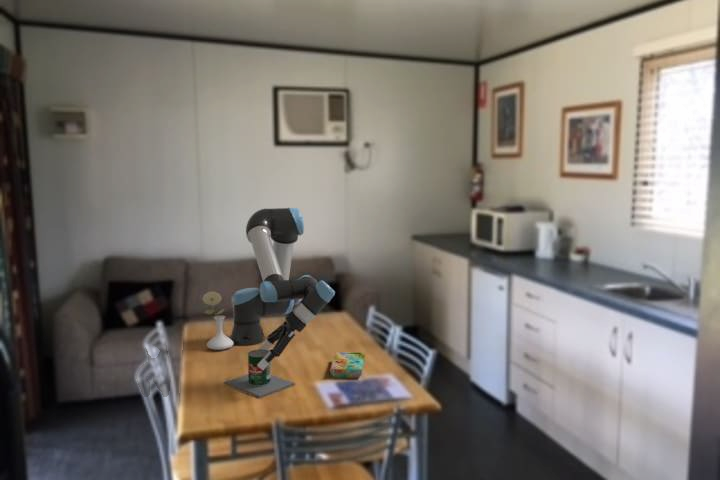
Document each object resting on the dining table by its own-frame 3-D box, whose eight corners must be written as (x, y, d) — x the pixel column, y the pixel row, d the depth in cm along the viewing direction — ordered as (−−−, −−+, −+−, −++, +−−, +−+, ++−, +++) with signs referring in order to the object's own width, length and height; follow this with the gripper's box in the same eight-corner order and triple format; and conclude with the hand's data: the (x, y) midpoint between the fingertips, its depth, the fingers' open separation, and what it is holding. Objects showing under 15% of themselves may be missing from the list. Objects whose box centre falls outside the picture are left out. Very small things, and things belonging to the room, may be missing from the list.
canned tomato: (248, 387, 203) (248, 356, 202) (248, 379, 211) (247, 350, 209) (271, 385, 205) (271, 355, 203) (270, 377, 212) (269, 348, 211)
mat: (223, 384, 208) (223, 382, 208) (258, 372, 220) (258, 370, 220) (260, 398, 195) (260, 395, 195) (294, 384, 207) (294, 382, 207)
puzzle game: (330, 366, 214) (335, 350, 234) (330, 379, 214) (336, 361, 234) (361, 367, 213) (364, 350, 233) (362, 379, 214) (365, 361, 233)
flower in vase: (237, 344, 257) (235, 288, 254) (228, 352, 246) (227, 294, 243) (208, 343, 258) (206, 288, 255) (199, 351, 247) (196, 293, 244)
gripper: (312, 333, 197) (269, 380, 195) (302, 315, 221) (263, 357, 219) (297, 319, 195) (253, 366, 194) (287, 303, 219) (248, 344, 218)
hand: (258, 361), depth 207 cm, fingers open, 13 cm apart
